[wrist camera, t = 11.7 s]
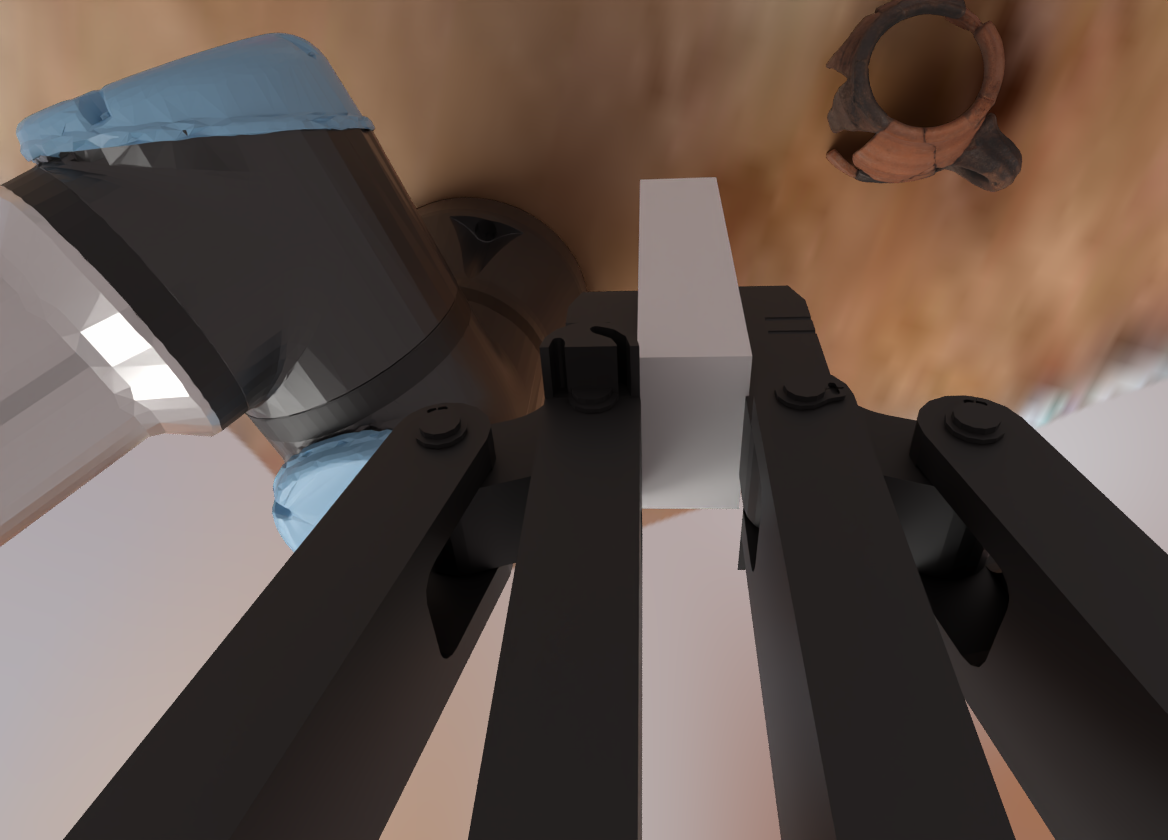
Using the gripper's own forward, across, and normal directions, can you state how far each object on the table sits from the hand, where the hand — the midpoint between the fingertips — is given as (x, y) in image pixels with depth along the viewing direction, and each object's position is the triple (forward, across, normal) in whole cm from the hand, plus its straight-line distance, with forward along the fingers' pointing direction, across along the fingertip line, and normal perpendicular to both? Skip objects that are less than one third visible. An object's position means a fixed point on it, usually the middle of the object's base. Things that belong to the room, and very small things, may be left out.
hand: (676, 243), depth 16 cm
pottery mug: (+33, -14, +6) cm, 36 cm away
